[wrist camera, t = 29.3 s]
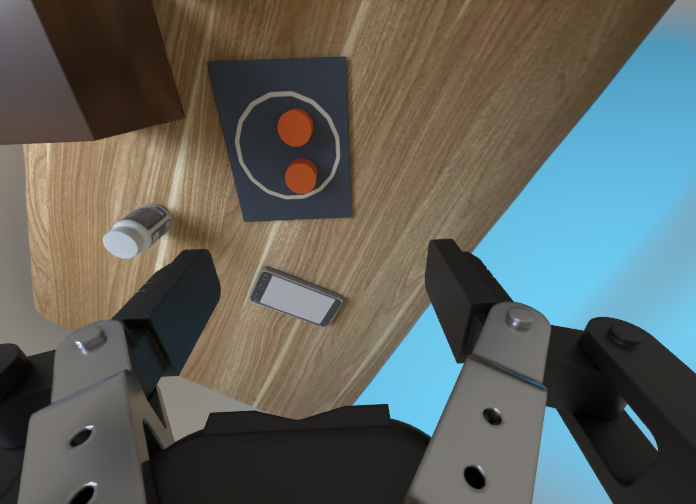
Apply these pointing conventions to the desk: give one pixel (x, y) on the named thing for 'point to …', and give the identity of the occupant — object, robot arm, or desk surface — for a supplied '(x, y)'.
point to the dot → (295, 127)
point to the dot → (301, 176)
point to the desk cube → (82, 70)
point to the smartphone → (295, 297)
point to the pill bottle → (137, 231)
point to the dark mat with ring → (266, 144)
